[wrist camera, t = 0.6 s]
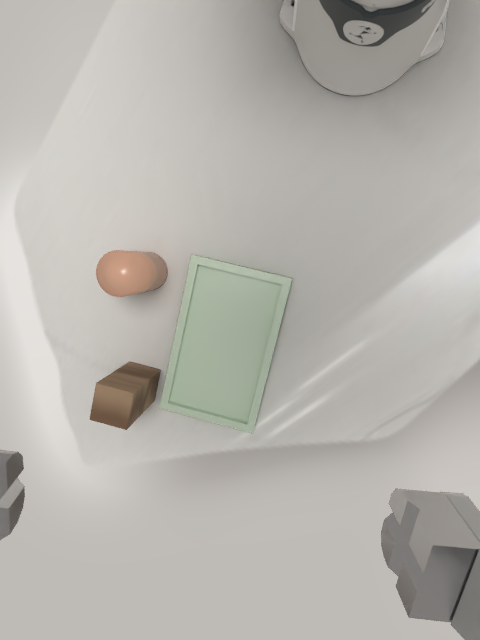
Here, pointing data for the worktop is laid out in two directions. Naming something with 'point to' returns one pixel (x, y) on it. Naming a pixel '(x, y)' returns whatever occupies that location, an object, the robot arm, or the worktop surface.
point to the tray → (224, 342)
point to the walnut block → (124, 395)
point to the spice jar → (130, 272)
